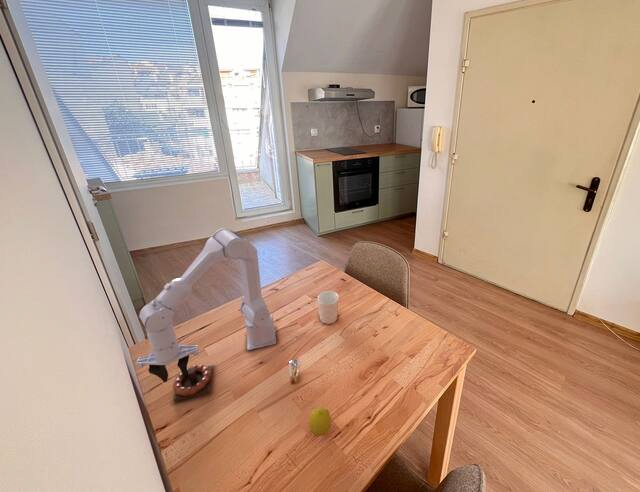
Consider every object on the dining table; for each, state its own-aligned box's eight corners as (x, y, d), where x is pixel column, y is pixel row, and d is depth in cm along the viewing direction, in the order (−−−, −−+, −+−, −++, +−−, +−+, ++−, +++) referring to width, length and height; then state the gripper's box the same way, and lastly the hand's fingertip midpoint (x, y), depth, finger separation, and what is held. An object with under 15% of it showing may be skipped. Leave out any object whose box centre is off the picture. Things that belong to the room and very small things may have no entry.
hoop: (212, 364, 93) (211, 359, 92) (209, 391, 85) (207, 386, 84) (178, 372, 90) (176, 368, 89) (171, 401, 82) (169, 396, 81)
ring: (297, 390, 87) (295, 372, 84) (287, 389, 87) (285, 370, 84) (304, 370, 93) (302, 352, 90) (294, 369, 94) (292, 351, 90)
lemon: (310, 420, 79) (309, 401, 76) (331, 419, 80) (330, 400, 76) (309, 443, 74) (307, 423, 71) (331, 441, 75) (330, 422, 71)
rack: (212, 367, 93) (209, 354, 91) (209, 393, 86) (205, 379, 83) (180, 375, 90) (176, 362, 88) (174, 402, 83) (169, 389, 80)
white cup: (342, 315, 116) (342, 295, 112) (330, 328, 110) (329, 307, 106) (326, 308, 120) (326, 288, 116) (314, 319, 114) (313, 299, 110)
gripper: (196, 325, 85) (205, 359, 90) (137, 337, 80) (150, 371, 86) (192, 344, 79) (202, 378, 84) (128, 357, 74) (143, 393, 80)
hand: (175, 376), depth 85 cm, fingers open, 4 cm apart
